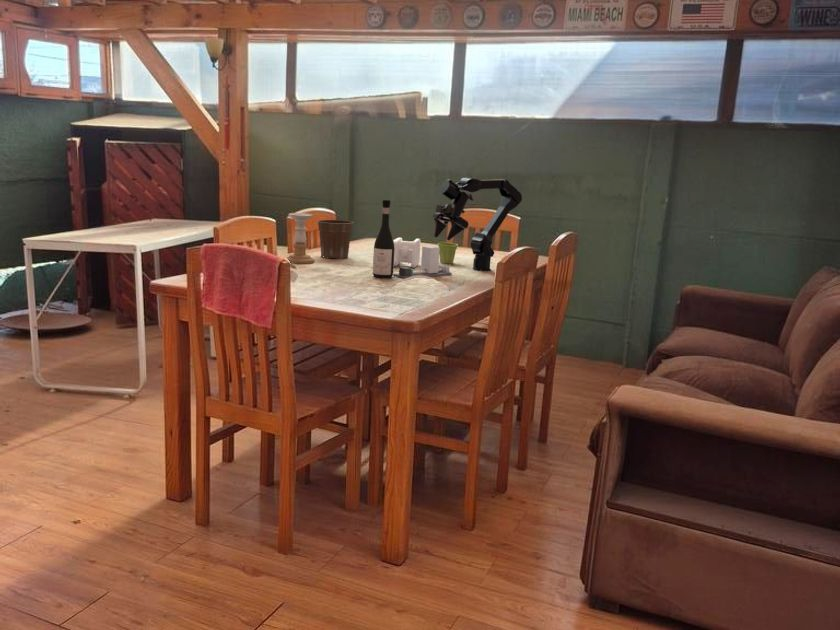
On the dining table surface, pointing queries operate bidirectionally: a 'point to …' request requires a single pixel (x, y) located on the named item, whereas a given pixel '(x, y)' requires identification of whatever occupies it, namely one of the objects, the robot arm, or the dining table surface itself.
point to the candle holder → (300, 239)
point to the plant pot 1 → (335, 237)
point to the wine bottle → (384, 247)
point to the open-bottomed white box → (430, 259)
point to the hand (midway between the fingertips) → (441, 238)
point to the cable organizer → (406, 252)
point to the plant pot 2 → (447, 252)
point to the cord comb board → (422, 272)
